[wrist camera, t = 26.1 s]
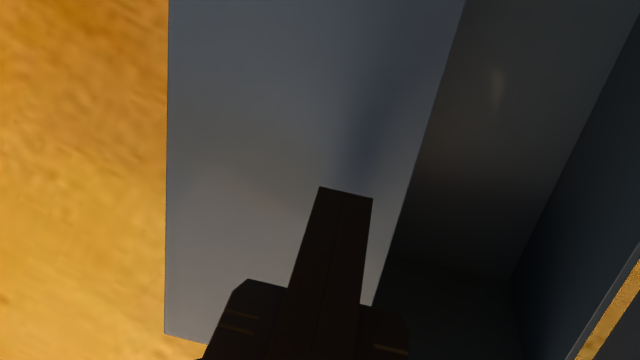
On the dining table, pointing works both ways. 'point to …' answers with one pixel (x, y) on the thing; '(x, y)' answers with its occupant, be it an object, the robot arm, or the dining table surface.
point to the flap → (288, 133)
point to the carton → (525, 187)
